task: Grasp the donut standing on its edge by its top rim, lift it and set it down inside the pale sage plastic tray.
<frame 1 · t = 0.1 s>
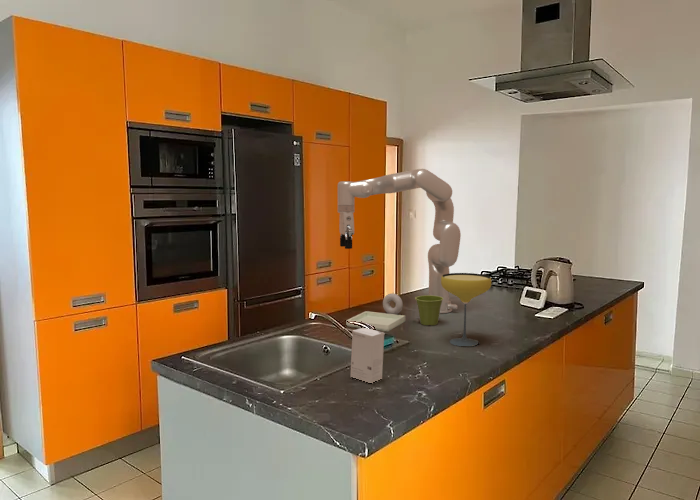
hand: (346, 247, 235), 31 cm above the worktop, tool pointing down, fingers open, 9 cm apart
tray: (376, 323, 224), on the worktop
cocktail glass: (464, 343, 196), on the worktop
skincare box: (367, 379, 158), on the worktop
donut: (392, 315, 240), on the worktop
plant pot: (428, 324, 224), on the worktop
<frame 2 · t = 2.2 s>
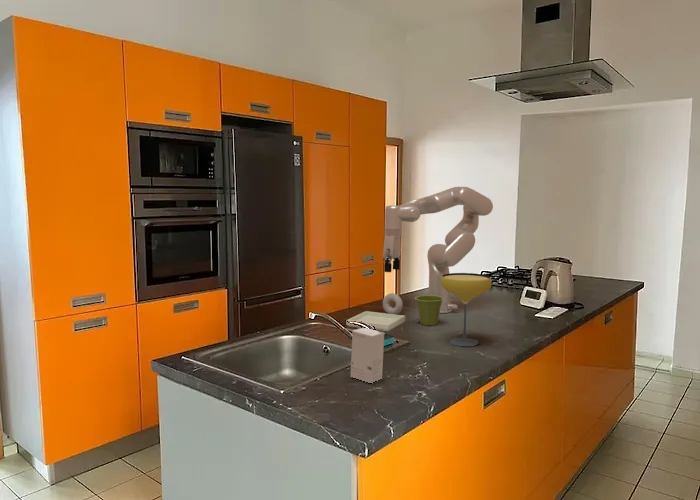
hand: (392, 270, 238), 20 cm above the worktop, tool pointing down, fingers open, 9 cm apart
nothing on the worktop moved.
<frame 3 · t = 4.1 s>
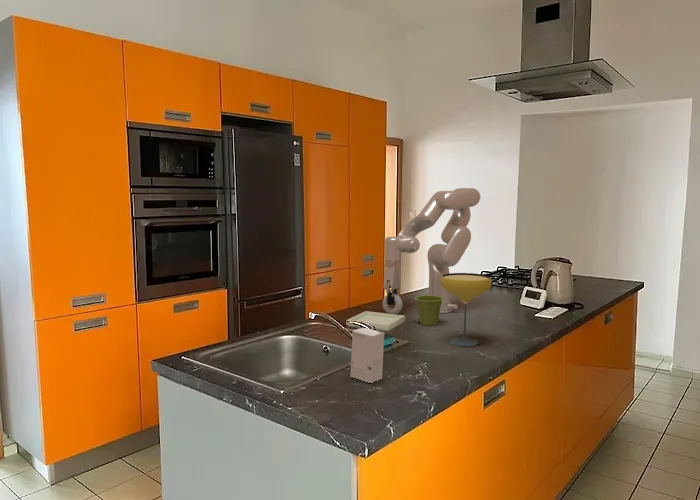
hand: (392, 303, 239), 5 cm above the worktop, tool pointing down, fingers closed on donut, 3 cm apart
donut: (392, 315, 240), on the worktop, touching gripper
everything else where it was.
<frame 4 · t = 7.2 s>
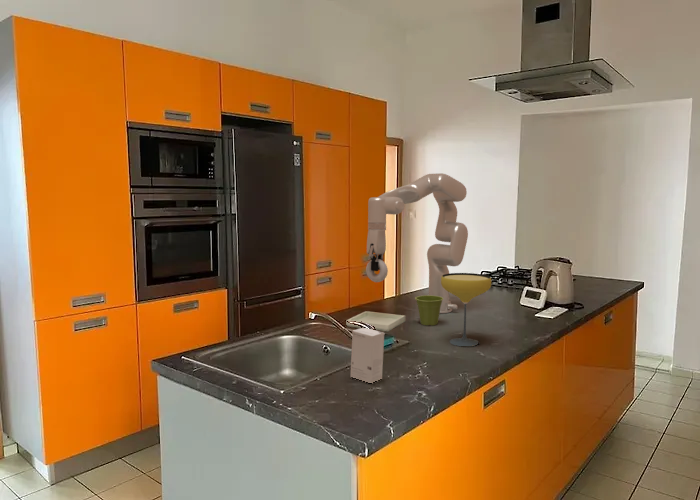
hand: (376, 269, 222), 23 cm above the worktop, tool pointing down, fingers closed on donut, 3 cm apart
donut: (376, 282, 222), point 18 cm above the worktop, touching gripper
everything else where it was.
when the fingers open (7 cm above the worktop, at t = 10.7 s): donut stays where it is, resting on tray.
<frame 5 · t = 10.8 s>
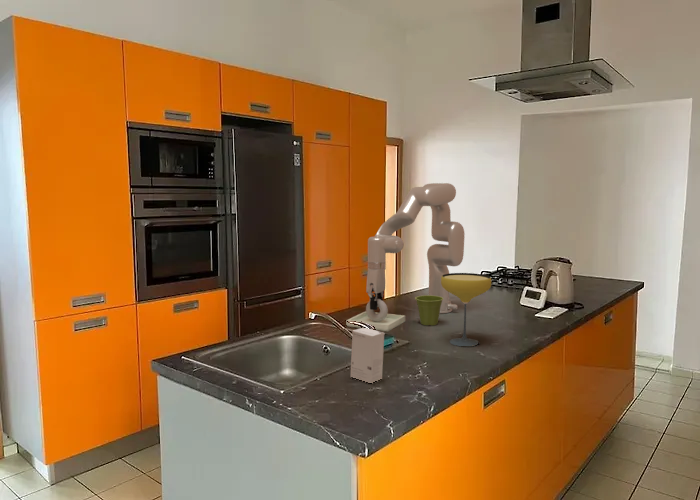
hand: (376, 307, 223), 7 cm above the worktop, tool pointing down, fingers open, 5 cm apart
donut: (376, 322, 224), point 1 cm above the worktop, touching tray
everything else where it was.
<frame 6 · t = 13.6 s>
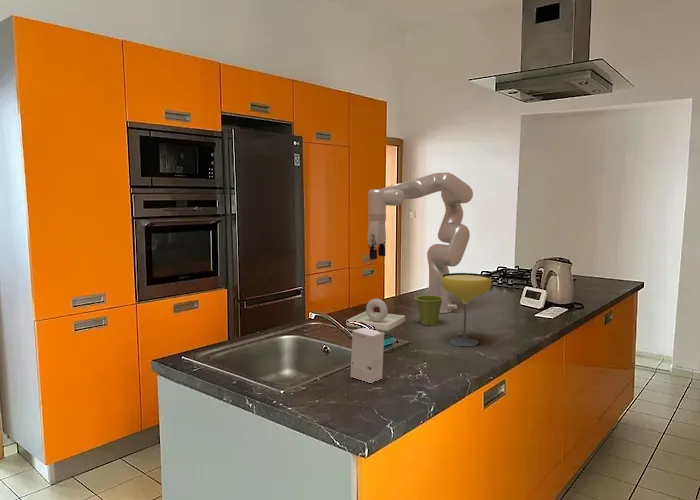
hand: (377, 257, 228), 28 cm above the worktop, tool pointing down, fingers open, 9 cm apart
nothing on the worktop moved.
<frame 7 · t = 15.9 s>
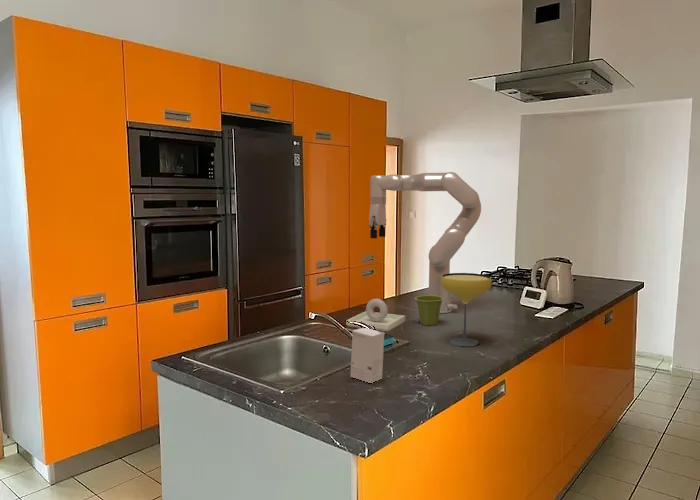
hand: (378, 237, 251), 34 cm above the worktop, tool pointing down, fingers open, 9 cm apart
nothing on the worktop moved.
at the end: donut inside the target area on the tray (0.3 cm from its centre), point 0.6 cm above the tray's base; the gripper is holding nothing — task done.
